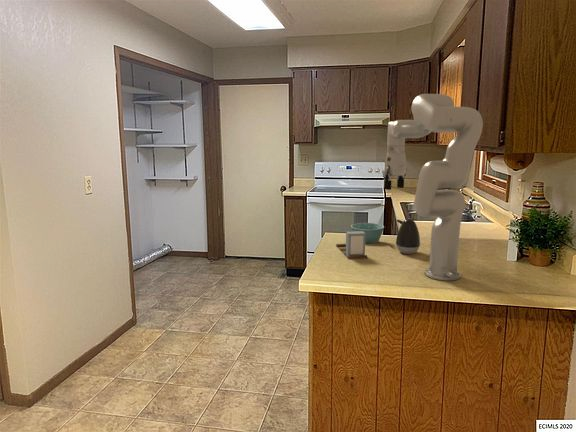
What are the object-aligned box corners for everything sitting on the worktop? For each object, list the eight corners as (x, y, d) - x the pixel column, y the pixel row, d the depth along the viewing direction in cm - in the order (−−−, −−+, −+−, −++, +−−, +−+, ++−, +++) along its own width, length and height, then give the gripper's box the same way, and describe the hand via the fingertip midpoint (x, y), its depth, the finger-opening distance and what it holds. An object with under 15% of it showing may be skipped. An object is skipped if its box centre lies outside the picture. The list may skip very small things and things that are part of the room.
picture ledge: (367, 261, 171) (367, 255, 170) (348, 262, 170) (348, 256, 169) (353, 248, 191) (353, 243, 190) (336, 249, 190) (336, 244, 189)
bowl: (369, 248, 192) (369, 230, 190) (343, 242, 204) (344, 225, 202) (390, 243, 202) (390, 226, 200) (365, 237, 213) (365, 221, 212)
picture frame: (364, 257, 172) (365, 233, 170) (348, 257, 171) (348, 233, 169) (361, 254, 176) (362, 231, 174) (345, 254, 175) (346, 231, 173)
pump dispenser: (398, 248, 191) (400, 215, 189) (422, 251, 186) (423, 217, 183) (392, 253, 183) (393, 219, 180) (416, 256, 178) (418, 221, 175)
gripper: (391, 150, 175) (389, 190, 178) (414, 149, 187) (412, 187, 190) (376, 150, 181) (375, 189, 184) (399, 149, 192) (398, 186, 195)
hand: (394, 188), depth 187 cm, fingers open, 9 cm apart
